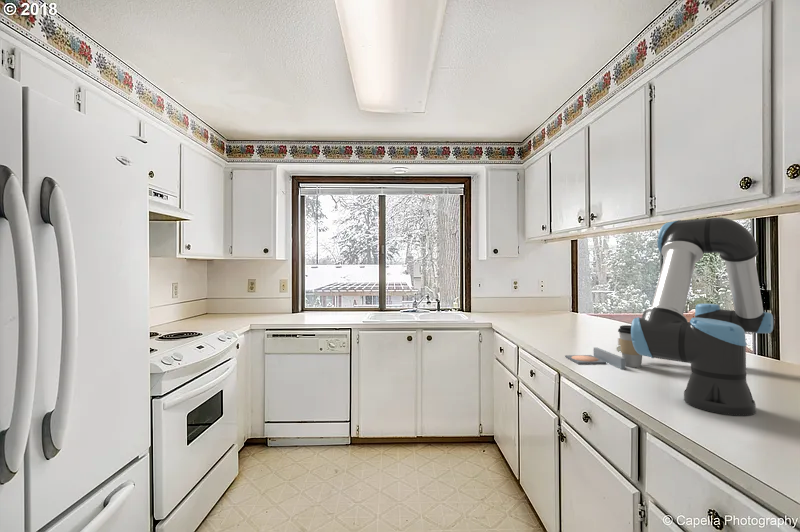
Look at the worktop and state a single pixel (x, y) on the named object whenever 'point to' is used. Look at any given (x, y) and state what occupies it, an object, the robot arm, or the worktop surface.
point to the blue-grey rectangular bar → (609, 358)
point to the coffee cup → (628, 348)
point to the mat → (585, 359)
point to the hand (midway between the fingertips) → (628, 345)
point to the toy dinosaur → (618, 348)
